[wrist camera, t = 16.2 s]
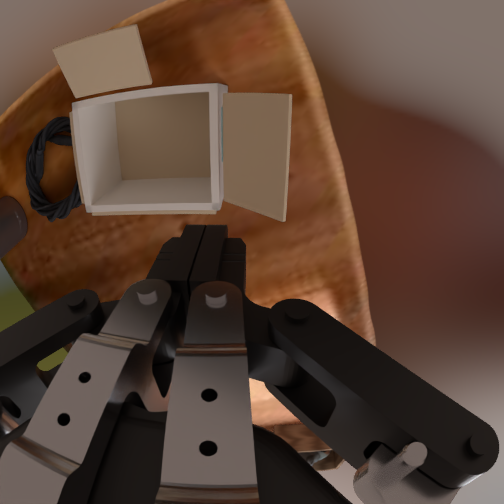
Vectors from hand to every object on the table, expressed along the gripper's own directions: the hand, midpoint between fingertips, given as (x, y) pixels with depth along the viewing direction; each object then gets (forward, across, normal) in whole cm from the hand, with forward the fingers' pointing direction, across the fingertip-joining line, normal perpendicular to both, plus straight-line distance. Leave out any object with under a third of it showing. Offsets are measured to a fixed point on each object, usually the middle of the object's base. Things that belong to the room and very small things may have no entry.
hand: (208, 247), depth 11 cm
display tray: (+29, -20, +85) cm, 92 cm away
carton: (+29, +10, 0) cm, 31 cm away
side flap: (+17, +13, -10) cm, 23 cm away
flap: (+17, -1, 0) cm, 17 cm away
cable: (+30, +28, +3) cm, 41 cm away
